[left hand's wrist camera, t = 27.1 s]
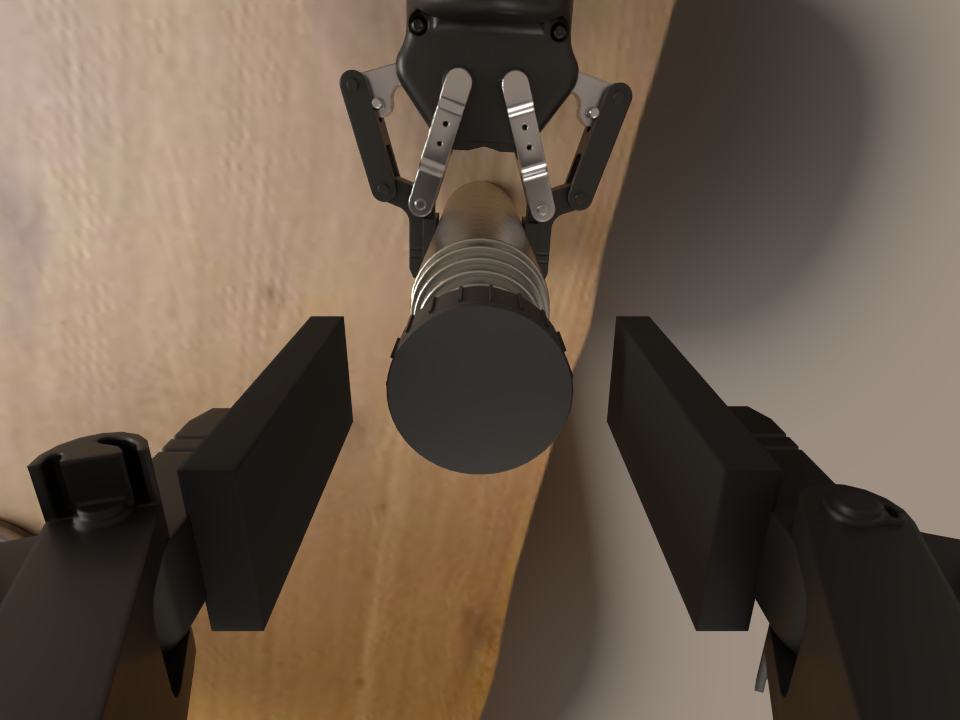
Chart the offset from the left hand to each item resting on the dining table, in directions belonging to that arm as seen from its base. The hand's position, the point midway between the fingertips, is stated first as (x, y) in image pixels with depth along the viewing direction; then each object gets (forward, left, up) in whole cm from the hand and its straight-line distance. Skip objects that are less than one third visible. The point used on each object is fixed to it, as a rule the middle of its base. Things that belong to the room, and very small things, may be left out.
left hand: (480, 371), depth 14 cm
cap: (0, 0, +1) cm, 1 cm away
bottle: (0, 0, -24) cm, 24 cm away
